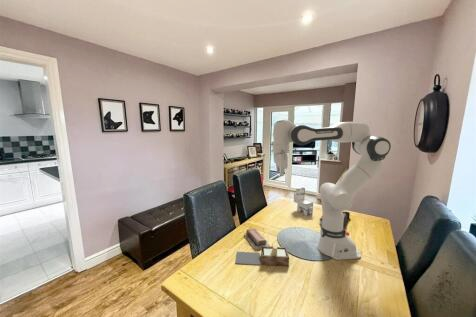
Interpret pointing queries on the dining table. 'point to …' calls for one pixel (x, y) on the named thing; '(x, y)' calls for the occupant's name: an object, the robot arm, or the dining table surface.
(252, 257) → the mat
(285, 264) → the box
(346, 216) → the book
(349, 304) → the dining table surface
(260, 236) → the packaged product
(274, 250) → the lid
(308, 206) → the toy llama
